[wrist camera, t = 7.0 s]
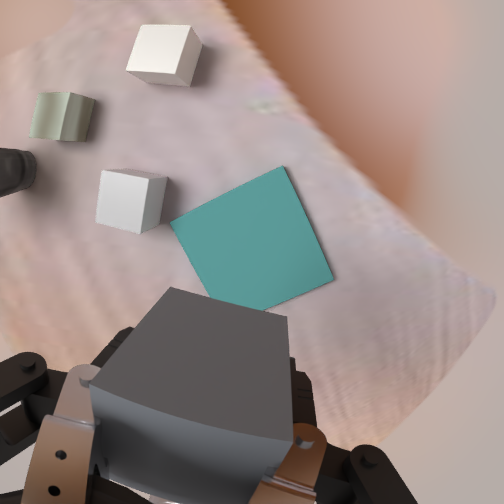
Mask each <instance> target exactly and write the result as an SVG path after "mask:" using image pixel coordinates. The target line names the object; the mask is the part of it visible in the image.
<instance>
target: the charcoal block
mask: <svg viewBox="0 0 504 504" xmlns="http://www.w3.org/2000/svg"><path fill="white" fill-rule="evenodd" d="M89 389H90V397H91V404H92V411H93V415H95V416H97V417H99V418H101V422H102V428H103V430H102V439H101V444H102V451H103V456H104V457H105V458H108V461H109V479H111V480H113V481H116V482H118V483H121V484H123V485H126V486H128V487H131V488H134V489H136V490H139V491H142V492H145V493H147V494H150V495H153V496H156V497H159V498H163V499H166V500H169V501H173V502H176V503H180V504H246V503H247V501H248V499H250V497H251V495H252V494H253V492H254V490H255V489H256V487H257V485H258V483H259V481H260V479H261V477H262V476H263V474H264V472H265V470H266V468H267V467H268V466H270V467H277V468H279V466H280V464H281V463H282V461H283V459H284V458H285V456H286V454H287V452H288V451H289V449H290V447H291V445H292V444H293V417H292V394H291V374H290V356H289V339H288V324H287V316H282V315H278V314H274V313H269V312H265V311H261V310H257V309H253V308H249V307H245V306H241V305H237V304H233V303H229V302H225V301H221V300H217V299H213V298H209V297H206V296H202V295H198V294H195V293H191V292H187V291H184V290H180V289H176V288H173V287H170V288H169V289H168V290H167V291H166V292H165V294H164V295H163V296H162V297H161V298H160V299H159V300H158V302H157V303H156V304H155V305H154V306H153V307H152V309H151V310H150V311H149V312H148V313H147V314H146V316H145V317H144V318H143V319H142V320H141V321H140V323H139V324H138V325H137V326H136V327H135V328H134V330H133V331H132V332H131V333H130V334H129V336H128V337H127V338H126V339H125V340H124V341H123V343H122V344H121V345H120V346H119V347H118V349H117V350H116V351H115V352H114V354H113V355H112V356H111V357H110V358H109V360H108V361H107V362H106V363H105V364H104V366H103V367H102V368H101V369H100V371H99V372H98V373H97V374H96V376H95V377H94V378H93V379H92V380H91V382H90V383H89Z"/></svg>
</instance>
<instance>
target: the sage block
mask: <svg viewBox="0 0 504 504" xmlns="http://www.w3.org/2000/svg"><path fill="white" fill-rule="evenodd" d="M94 102H95V99H92V98H88V97H85V96H81V95H78V94H75V93H71V92H51V93H39V94H38V98H37V102H36V106H35V110H34V115H33V119H32V124H31V129H30V135H29V137H30V138H41V139H51V140H61V141H79V142H85V141H86V136H87V131H88V127H89V122H90V118H91V114H92V110H93V106H94Z"/></svg>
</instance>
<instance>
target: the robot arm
mask: <svg viewBox="0 0 504 504" xmlns="http://www.w3.org/2000/svg"><path fill="white" fill-rule="evenodd" d="M133 330H134V328H133V327H128V328H126V329H123V330H121V331H119V332H118V334H117V335H116V336H115V337H114V338H113V340H111V341H110V342H109V344H108V345H107V346H106V347H105V348H104V349H103V350H102V351H101V353H100V354H99V355H98V356H97V357H96V358H95V359H94V360H93V362H92V363H91V364H90V365H89V364H82V365H78V366H75V367H73V368H72V369H71V370H70V371H69V372H68V373H67V372H61V371H56V370H52V369H47V364H46V361H45V359H44V358H43V357H42V356H41V355H39V354H37V353H33V352H23V353H19V354H17V355H15V356H13V357H11V358H9V359H6V360H4V361H2V362H0V412H1V411H3V410H5V409H7V408H8V407H10V406H12V405H13V404H15V403H17V402H19V401H21V405H20V406H18V407H16V408H14V409H12V410H11V411H9V412H7V413H6V414H4V415H2V416H0V465H2V464H4V463H5V462H7V461H8V460H10V459H11V458H12V457H14V456H16V455H17V454H19V453H20V452H21V451H23V450H25V449H26V448H28V447H29V446H30V445H32V444H33V443H35V442H36V444H35V447H34V451H33V454H32V458H31V462H30V465H29V470H28V474H27V477H26V482H25V486H24V489H22V490H18V491H13V492H9V493H4V494H0V504H180V503H176V502H173V501H169V500H166V499H163V498H159V497H156V496H153V495H150V498H149V501H148V500H146V499H145V498H143V497H141V496H140V495H138V494H137V493H135V492H133V491H132V490H130V489H128V488H127V487H124V486H121V485H119V484H117V483H114V482H112V481H109V461H108V458H105V457H104V456H103V451H102V444H101V439H102V430H103V428H102V422H101V418H99V417H97V416H95V415H93V411H92V404H91V397H90V389H89V383H90V382H91V380H92V379H93V378H94V377H95V376H96V374H97V373H98V372H99V371H100V369H101V368H102V367H103V366H104V364H105V363H106V362H107V361H108V360H109V358H110V357H111V356H112V355H113V354H114V352H115V351H116V350H117V349H118V347H119V346H120V345H121V344H122V343H123V341H124V340H125V339H126V338H127V337H128V336H129V334H130V333H131V332H132V331H133ZM290 374H291V394H292V417H293V444H292V445H291V447H290V449H289V451H288V452H287V454H286V456H285V458H284V459H283V461H282V463H281V464H280V466H279V468H277V467H270V466H268V467H267V468H266V470H265V472H264V474H263V476H262V477H261V479H260V481H259V483H258V485H257V487H256V489H255V490H254V492H253V494H252V495H251V497H250V499H248V501H247V503H246V504H314V502H315V501H316V502H317V504H418V503H417V501H416V500H415V498H414V497H413V495H412V494H411V492H410V491H409V489H408V488H407V486H406V485H405V483H404V481H403V480H402V478H401V477H400V475H399V474H398V472H397V471H396V469H395V468H394V466H393V465H392V463H391V462H390V460H389V459H388V457H387V456H386V454H385V453H384V452H383V451H382V450H381V449H379V448H377V447H375V446H372V445H359V446H357V447H355V448H354V449H353V450H352V451H347V450H344V449H341V448H338V447H335V446H333V445H331V444H329V443H328V442H327V439H326V437H325V435H324V433H323V432H322V431H321V430H320V429H318V428H317V422H316V414H315V406H314V400H313V393H312V384H311V381H310V379H309V378H308V376H307V375H306V373H305V372H300V371H296V365H295V358H293V357H290Z"/></svg>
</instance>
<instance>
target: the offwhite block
mask: <svg viewBox="0 0 504 504" xmlns="http://www.w3.org/2000/svg"><path fill="white" fill-rule="evenodd" d="M202 46H203V44H202V43H201V41H200V40H199V38H198V36H197V35H196V33H195V32H194V30H193V29H192V27H191V26H185V25H141V28H140V30H139V33H138V36H137V39H136V41H135V44H134V47H133V50H132V53H131V56H130V59H129V62H128V65H127V68H126V71H127V72H129V73H131V74H132V75H134V76H136V77H137V78H139V79H141V80H142V81H144V82H146V83H155V84H166V85H175V86H184V87H190V86H191V82H192V79H193V75H194V72H195V68H196V65H197V62H198V59H199V55H200V52H201V49H202Z"/></svg>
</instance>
